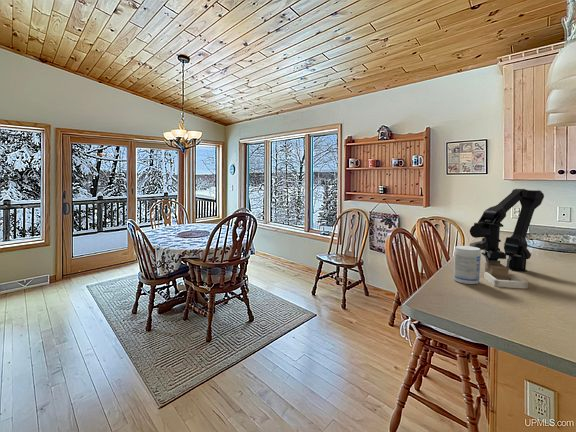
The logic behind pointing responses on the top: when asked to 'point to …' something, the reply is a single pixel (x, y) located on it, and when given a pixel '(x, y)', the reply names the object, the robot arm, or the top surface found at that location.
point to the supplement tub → (467, 264)
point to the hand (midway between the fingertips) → (489, 269)
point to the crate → (496, 270)
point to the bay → (507, 281)
